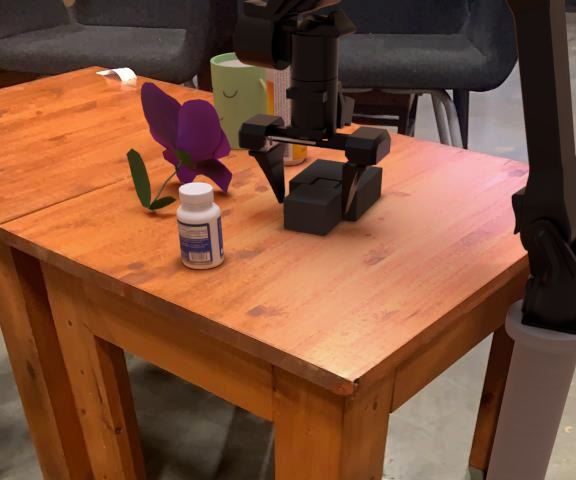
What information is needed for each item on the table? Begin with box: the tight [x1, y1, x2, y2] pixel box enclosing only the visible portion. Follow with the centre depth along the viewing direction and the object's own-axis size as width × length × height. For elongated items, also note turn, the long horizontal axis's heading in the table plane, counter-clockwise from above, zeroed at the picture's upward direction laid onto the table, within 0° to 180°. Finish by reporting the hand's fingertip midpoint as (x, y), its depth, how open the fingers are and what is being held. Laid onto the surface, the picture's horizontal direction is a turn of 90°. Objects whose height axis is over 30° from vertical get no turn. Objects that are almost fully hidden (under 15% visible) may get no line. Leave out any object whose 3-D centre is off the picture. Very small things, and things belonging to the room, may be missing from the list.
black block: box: [282, 179, 343, 237], centre depth 103 cm, size 6×9×4 cm
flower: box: [126, 81, 233, 213], centre depth 106 cm, size 15×15×14 cm
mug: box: [209, 52, 267, 150], centre depth 125 cm, size 13×10×12 cm
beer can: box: [266, 66, 308, 166], centre depth 117 cm, size 6×6×15 cm
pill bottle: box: [176, 181, 225, 270], centre depth 92 cm, size 5×5×9 cm
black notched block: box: [288, 158, 384, 222], centre depth 107 cm, size 10×10×4 cm
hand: (312, 207), depth 102 cm, fingers open, 9 cm apart
